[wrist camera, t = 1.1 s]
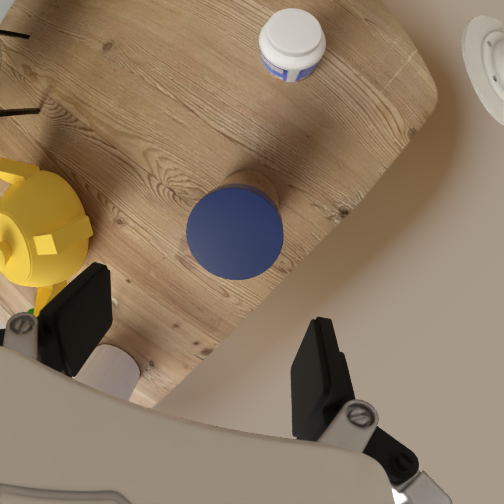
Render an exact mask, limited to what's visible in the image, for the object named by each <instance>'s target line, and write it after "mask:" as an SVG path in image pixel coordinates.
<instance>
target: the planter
mask: <svg viewBox="0 0 504 504" xmlns="http://www.w3.org/2000/svg"><path fill="white" fill-rule="evenodd" d="M0 35H4V36H10V37H16V38H21V39H29V37H30V35H26V34H21V33H16V32H11V31H5V30H0ZM1 61H2V46H1V41H0V70H1ZM39 112H40V109H39V108H24V109H8V110H0V117H3V116H13V115H26V114H39Z"/></svg>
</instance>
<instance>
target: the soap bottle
mask: <svg viewBox="0 0 504 504" xmlns="http://www.w3.org/2000/svg"><path fill="white" fill-rule="evenodd" d="M139 376H140V371H139V367H138V365H137V364H136V362H135V361H134V359H133V358H132V357H131V356H129V355H128V354H127V353H126V352H124V351H123V350H121V349H119V348H118V347H115V346H112V345H105V344H102V345H100V346H97V347H96V348H95V349H94V351H93V352H92V354H91V355H90V357H89V358H88V360H87V361H86V362H85V364H84V365H83V367H82V368H81V370H80V371H79V373H78V374H77V376H76V377H75V380H77V381H79V382H82V383H84V384H86V385H88V386H91V387H93V388H96V389H98V390H100V391H103V392H105V393H108V394H110V395H113V396H116V397H118V398H121V399H124V400H126V401H129V399H130V397H131V394H132V392H133V390H134V388H135V386H136V384H137V382H138V380H139Z"/></svg>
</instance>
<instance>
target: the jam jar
mask: <svg viewBox="0 0 504 504" xmlns="http://www.w3.org/2000/svg"><path fill="white" fill-rule="evenodd" d="M233 183H240V184H247V185H250V186H253V187H255V188H258V189H259V190H261V191H263V192H264V193H265V194H267V195H268V196H269V197H270V198H271V199H272V200H273V202H274V203H275V204H277V208H278V210H279V201H278V194H277V191H276V188H275V186H274V185H273V183H272V182H271V181H270V180H269V179H268V178H267V177H266V176H264V175H262V174H260V173H258V172H255V171H240V172H236V173H234V174H232V175H230V176H229V177H227V178H226V179H225V180H224V181H223V182H222V183H221V184H220V185H219V186H218V187H220V186H222V185H226V184H233Z"/></svg>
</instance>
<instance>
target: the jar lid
mask: <svg viewBox="0 0 504 504" xmlns="http://www.w3.org/2000/svg"><path fill="white" fill-rule="evenodd" d="M186 234H187V241H188V245H189V248H190V250H191V253H192V255H193V256H194V258H195V259H196V260H197V262H198V263H199V264H200V265H201V266H202V267H203V268H204V269H206V270H207V271H209V272H210V273H212V274H214V275H216V276H218V277H221V278H225V279H230V280H244V279H249V278H252V277H255V276H257V275H260V274H261V273H263V272H265V271H266V270H267V269H268V268H270V267H271V265H272V264H273V263H274V262H275V261H276V259H277V258H278V256H279V254H280V251H281V248H282V244H283V224H282V218H281V215H280V212H279V210H278V208H277V204H275V203H274V202H273V200H272V199H271V198H270V197H269V196H268V195H267V194H265V193H264V192H263V191H261V190H259V189H258V188H255V187H253V186H250V185H247V184H240V183H233V184H226V185H222V186H220V187H217V188H215V189H213V190H212V191H210V192H209V193H208V194H206V195H205V196H204V197H203V198H202V199H201V200H200V201H199V202H198V203H197V204H196V206H195V207H194V208H193V210H192V212H191V214H190V216H189V219H188V223H187V230H186Z"/></svg>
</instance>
